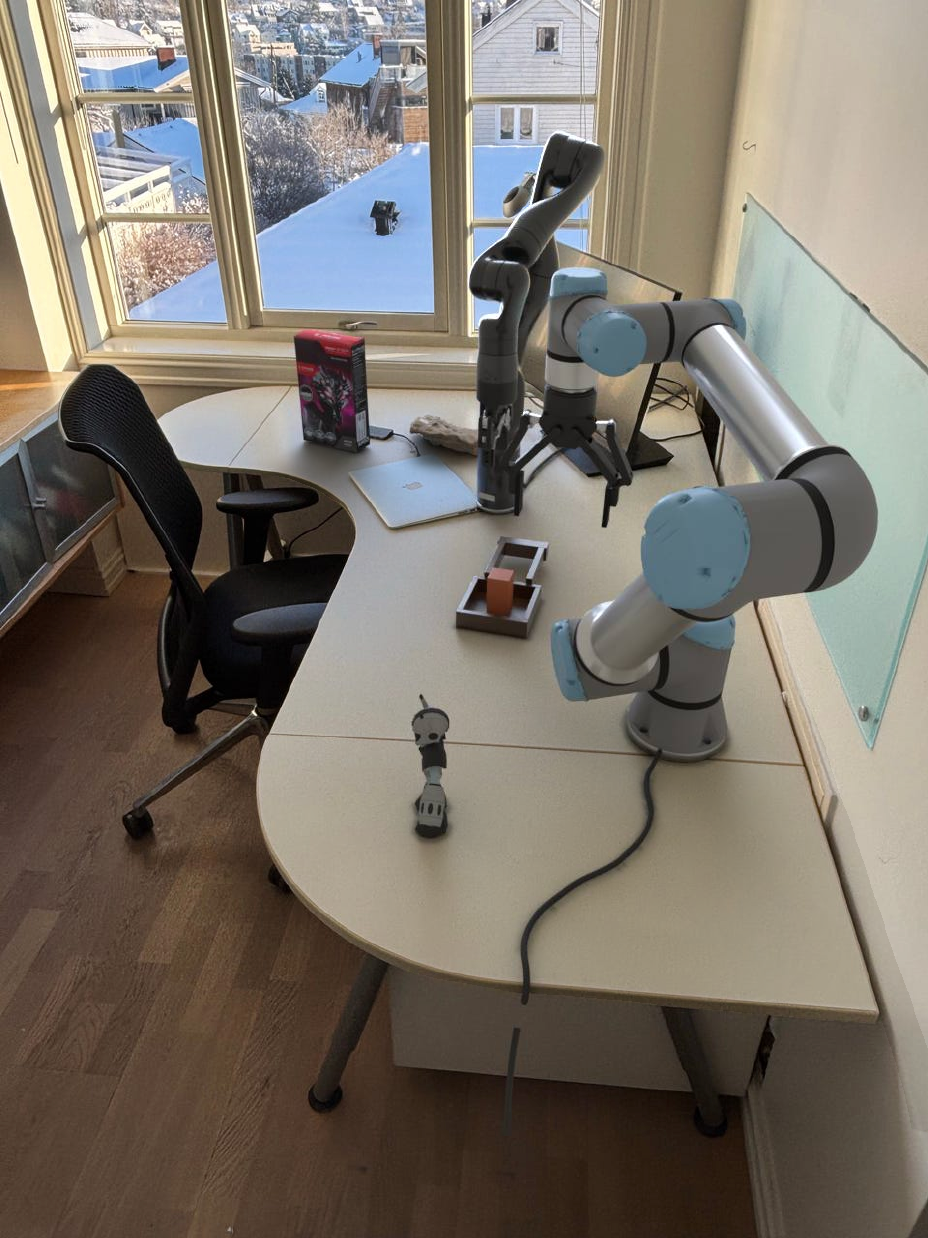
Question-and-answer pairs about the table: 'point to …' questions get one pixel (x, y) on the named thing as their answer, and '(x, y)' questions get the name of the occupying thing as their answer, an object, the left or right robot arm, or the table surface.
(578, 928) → the table surface
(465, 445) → the stone
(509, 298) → the left robot arm
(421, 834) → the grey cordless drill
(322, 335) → the graphics card box
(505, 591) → the terracotta block
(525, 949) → the right robot arm
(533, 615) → the walnut tray
